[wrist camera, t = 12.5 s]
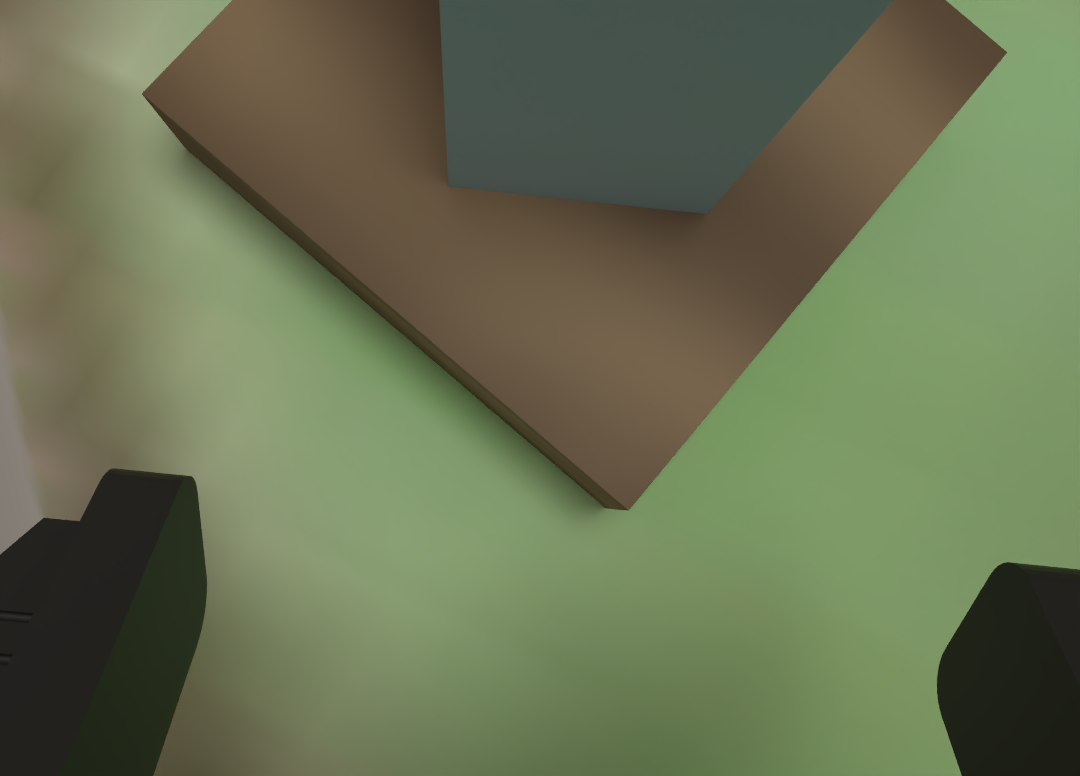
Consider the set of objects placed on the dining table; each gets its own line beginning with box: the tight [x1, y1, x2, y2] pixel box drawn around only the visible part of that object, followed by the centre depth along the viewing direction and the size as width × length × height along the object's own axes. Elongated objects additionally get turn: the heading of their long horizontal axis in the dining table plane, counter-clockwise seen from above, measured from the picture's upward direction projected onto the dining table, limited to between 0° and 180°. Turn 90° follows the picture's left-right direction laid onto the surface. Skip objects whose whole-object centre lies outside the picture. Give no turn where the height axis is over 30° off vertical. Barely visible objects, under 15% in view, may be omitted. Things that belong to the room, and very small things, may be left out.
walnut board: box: [142, 0, 1007, 510], centre depth 21 cm, size 12×12×3 cm
